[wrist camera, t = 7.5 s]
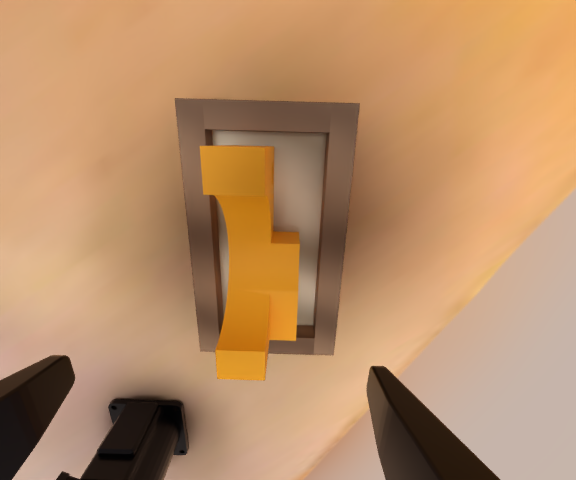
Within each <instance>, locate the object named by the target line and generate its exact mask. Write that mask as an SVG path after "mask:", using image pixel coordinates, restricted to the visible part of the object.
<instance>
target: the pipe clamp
mask: <svg viewBox="0 0 576 480" xmlns="http://www.w3.org/2000/svg"><path fill="white" fill-rule="evenodd" d="M200 158H201V171H202V184H203V195H214V196H215V197H216V198H217V200H218V201H219V203H220V205H221V208H222V210H223V214H224V217H225V222H226V227H227V234H228V245H229V280H228V292H227V301H226V308H225V314H224V320H223V325H222V329H221V333H220V337H219V340H218V344H217V347H216V349H215V354H216V367H217V379H237V380H265V374H266V366H267V357H268V348H269V340H287V341H296V331H297V310H298V282H299V253H300V240H299V232H277V231H273V227H274V146H243V145H218V146H200Z"/></svg>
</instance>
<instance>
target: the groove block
mask: <svg viewBox="0 0 576 480" xmlns="http://www.w3.org/2000/svg"><path fill="white" fill-rule="evenodd" d="M359 105H360V103H325V102H289V101H253V100H217V99H182V98H175V106H176V116H177V126H178V136H179V146H180V156H181V165H182V175H183V185H184V195H185V205H186V215H187V225H188V235H189V244H190V254H191V264H192V274H193V284H194V294H195V304H196V314H197V324H198V333H199V343H200V351H206V352H215V349H216V347H217V344H218V340H219V337H220V333H221V329H222V325H223V320H224V314H225V308H226V301H227V292H228V280H229V245H228V234H227V227H226V222H225V217H224V214H223V210H222V208H221V205H220V203H219V201H218V200H217V198H216V197H215V196H214V195H203V184H202V171H201V158H200V146H218V145H243V146H274V227H273V231H277V232H299V240H300V253H299V282H298V310H297V331H296V341H287V340H269V348H268V353H272V354H304V355H334V346H335V337H336V327H337V317H338V308H339V298H340V289H341V279H342V269H343V260H344V250H345V240H346V231H347V221H348V211H349V202H350V192H351V183H352V173H353V163H354V154H355V144H356V134H357V125H358V115H359Z"/></svg>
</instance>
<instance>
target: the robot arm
mask: <svg viewBox="0 0 576 480" xmlns="http://www.w3.org/2000/svg"><path fill="white" fill-rule="evenodd" d="M74 381H75V374H74V371H73V368H72V364H71V361H70V358H69V357H68V356H65V355H52V356H49V357H47V358H45V359H43V360H41V361H39V362H37V363H35V364H33V365H31V366H29V367H27V368H25V369H23V370H20V371H18V372H16V373H14V374H12V375H10V376H8V377H6V378H4V379H2V380H0V480H12V479H13V477H14V476H15V474H16V473H17V472H18V470H19V469H20V467H21V466H22V465H23V463H24V462H25V460H26V459H27V458H28V456H29V455H30V453H31V452H32V451H33V449H34V448H35V446H36V445H37V443H38V442H39V440H40V439H41V437H42V436H43V434H44V432H45V431H46V429H47V428H48V426H49V424H50V423H51V421H52V419H53V418H54V416H55V414H56V413H57V411H58V409H59V408H60V406H61V404H62V403H63V401H64V399H65V398H66V396H67V394H68V393H69V391H70V390H71V388H72V386H73V384H74ZM367 397H368V403H369V408H370V413H371V418H372V424H373V429H374V434H375V439H376V444H377V449H378V453H379V458H380V461H381V465H382V468H383V472H384V475H385V479H386V480H500V479H499V478H498V477H497V476H496V475H495V474H494V473H493V472H492V471H491V470H490V469H489V468H488V467H487V466H486V465H485V464H484V463H483V462H482V461H481V460H480V459H479V458H478V457H477V456H476V455H475V454H474V453H473V452H472V451H470V450H469V449H468V447H467V446H465V444H463V443H462V442H461V441H460V440H459V439H458V438H457V437H456V436H455V435H454V434H453V433H452V432H451V431H450V430H449V429H448V428H447V427H446V426H445V425H444V424H443V423H442V422H441V421H440V420H439V419H438V418H437V417H436V416H435V415H434V414H433V413H432V412H431V411H430V410H429V409H428V408H427V407H426V406H425V405H424V404H423V403H422V402H421V401H420V400H419V399H418V398H417V397H416V396H415V395H414V394H413V393H412V392H411V391H409V390H408V389H407V388H406V387H405V386H404V385H403V384H402V383H401V382H400V381H399V380H398V379H397V378H396V377H395V376H394V375H393V374H392V373H391V372H390V371H389V370H388V369H387V368H386V367H384V366H371V368H370V370H369V376H368V382H367ZM108 408H109V411H110V415H111V419H112V423H113V426H112V427H111V429H110V430H109V432H108V434H107V435H106V437H105V438H104V440H103V441H102V443H101V445H100V446H99V448H98V450H97V453H96V454H95V456H94V457H93V459H92V461H91V462H90V464H89V465H88V467H87V469H86V470H85V472H84V473H83V475H82V476H81V478H80V479H78V478H75V477H72V476H69V475H70V474H69V473H66V472H63V471H62V472H61V474H60V475H59V476H58V478H57V479H56V480H164V478H165V475H166V472H167V470H168V467H169V464H170V462H171V459H172V457H173V455H186V454H187V452H188V449H189V446H188V439H187V431H186V424H185V417H184V410H183V405H182V403H180V402H177V401H146V400H112V402H111V403H110V404H109V406H108Z"/></svg>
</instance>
